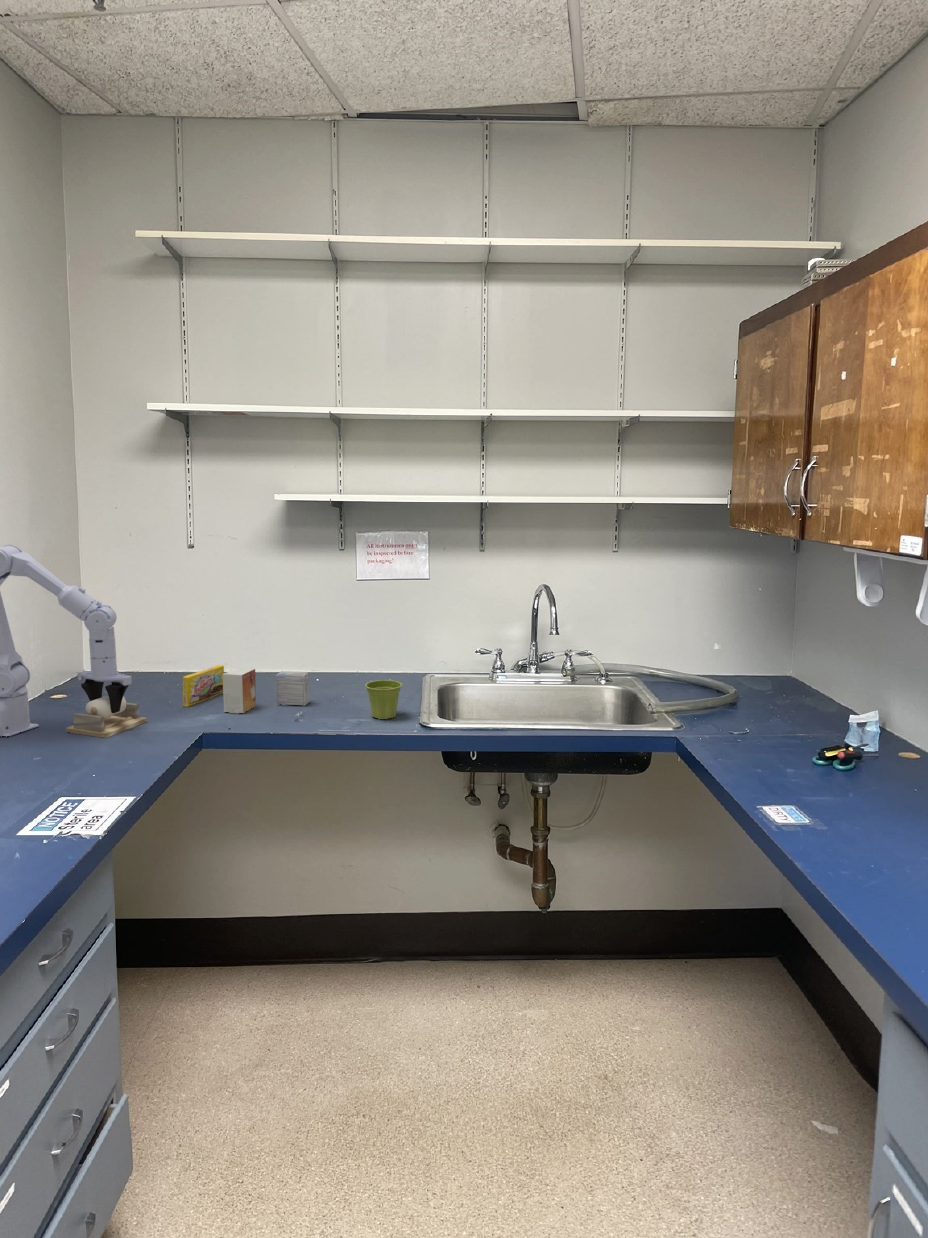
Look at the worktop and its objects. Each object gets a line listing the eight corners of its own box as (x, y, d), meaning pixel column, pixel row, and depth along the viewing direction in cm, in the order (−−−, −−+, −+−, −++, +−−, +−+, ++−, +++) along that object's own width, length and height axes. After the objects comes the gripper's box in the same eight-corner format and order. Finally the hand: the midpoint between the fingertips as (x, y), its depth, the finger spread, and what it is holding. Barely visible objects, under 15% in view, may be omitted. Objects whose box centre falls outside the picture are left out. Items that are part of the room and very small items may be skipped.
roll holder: (106, 737, 191) (105, 719, 190) (65, 732, 195) (64, 714, 194) (147, 721, 204) (146, 704, 203) (108, 716, 208) (107, 699, 207)
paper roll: (102, 722, 194) (101, 702, 194) (86, 719, 196) (85, 699, 195) (127, 713, 202) (126, 693, 201) (110, 711, 204) (109, 691, 203)
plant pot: (396, 723, 206) (396, 690, 204) (360, 720, 208) (360, 687, 206) (406, 713, 215) (406, 681, 214) (372, 710, 217) (371, 679, 215)
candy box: (189, 707, 218) (187, 677, 216) (182, 706, 218) (181, 676, 217) (225, 693, 233) (224, 664, 231) (218, 692, 233) (217, 664, 232)
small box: (243, 714, 212) (242, 675, 210) (223, 713, 213) (221, 673, 211) (256, 706, 219) (255, 668, 218) (237, 705, 220) (236, 667, 219)
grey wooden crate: (309, 702, 224) (309, 671, 223) (304, 706, 220) (304, 675, 218) (281, 701, 225) (281, 670, 223) (276, 705, 220) (275, 674, 219)
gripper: (139, 655, 198) (142, 709, 200) (91, 650, 203) (95, 703, 205) (118, 661, 191) (121, 717, 194) (69, 656, 196) (73, 711, 198)
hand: (106, 711), depth 199 cm, fingers closed on paper roll, 5 cm apart
